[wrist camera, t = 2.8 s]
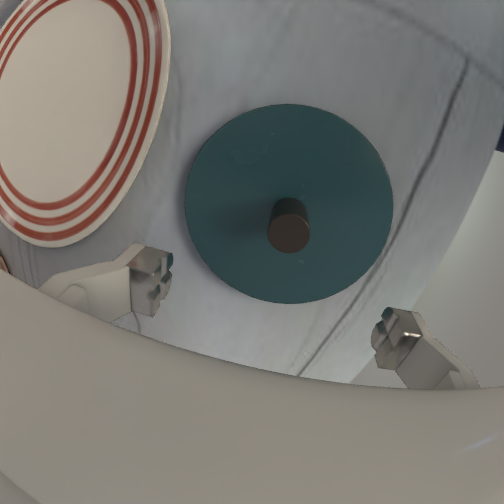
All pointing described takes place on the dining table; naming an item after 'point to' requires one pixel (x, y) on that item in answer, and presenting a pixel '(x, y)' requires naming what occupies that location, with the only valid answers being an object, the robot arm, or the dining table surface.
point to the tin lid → (288, 203)
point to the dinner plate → (77, 111)
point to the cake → (3, 265)
